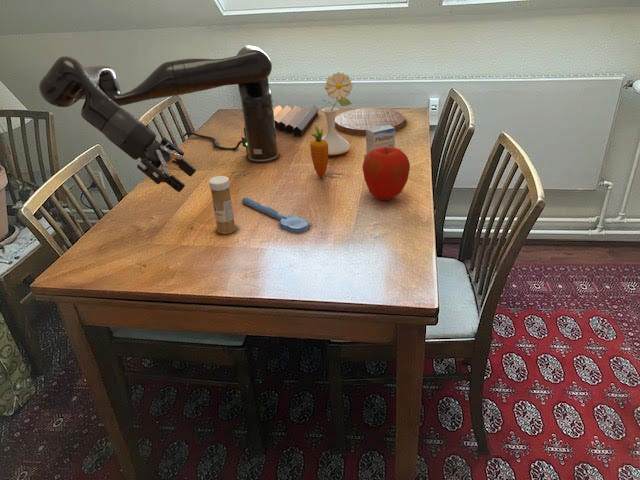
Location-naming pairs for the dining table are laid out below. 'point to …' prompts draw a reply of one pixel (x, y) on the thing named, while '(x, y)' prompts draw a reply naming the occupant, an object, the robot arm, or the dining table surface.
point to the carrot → (319, 153)
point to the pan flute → (294, 118)
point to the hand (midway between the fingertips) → (188, 181)
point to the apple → (386, 172)
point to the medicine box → (380, 137)
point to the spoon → (280, 217)
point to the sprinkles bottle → (222, 204)
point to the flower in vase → (338, 89)
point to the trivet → (368, 120)
